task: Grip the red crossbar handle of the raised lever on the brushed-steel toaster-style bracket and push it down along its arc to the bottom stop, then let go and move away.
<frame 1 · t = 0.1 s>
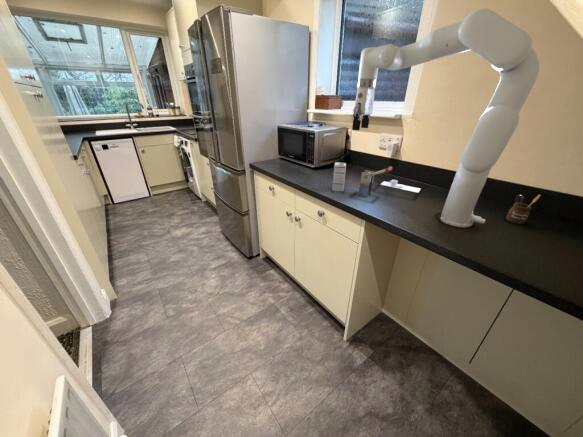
hand: (360, 128, 104), 31 cm above the counter, tool pointing down, fingers open, 9 cm apart
bracket: (364, 197, 115), on the counter
lever: (377, 172, 106), point 13 cm above the counter, hinge at 28.0°
syrup box: (337, 191, 122), on the counter
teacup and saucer: (397, 190, 124), on the counter
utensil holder: (514, 221, 95), on the counter
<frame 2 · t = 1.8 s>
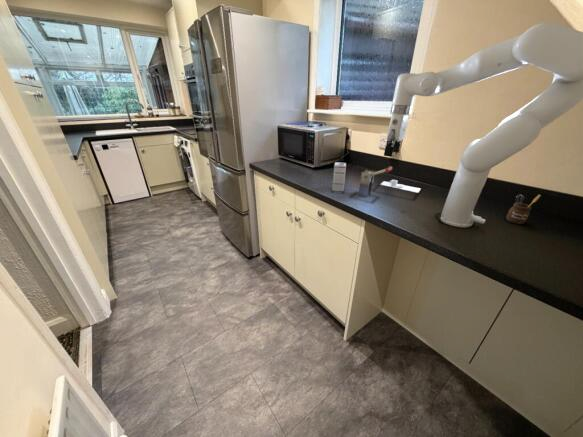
hand: (391, 154, 100), 22 cm above the counter, tool pointing down, fingers open, 9 cm apart
nothing on the counter moved.
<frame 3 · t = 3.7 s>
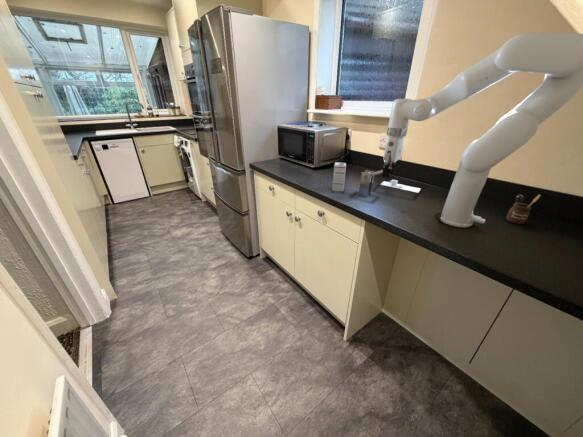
hand: (387, 175, 104), 13 cm above the counter, tool pointing down, fingers closed on lever, 5 cm apart
lever: (377, 172, 106), point 13 cm above the counter, hinge at 28.0°, touching gripper
everything else where it was.
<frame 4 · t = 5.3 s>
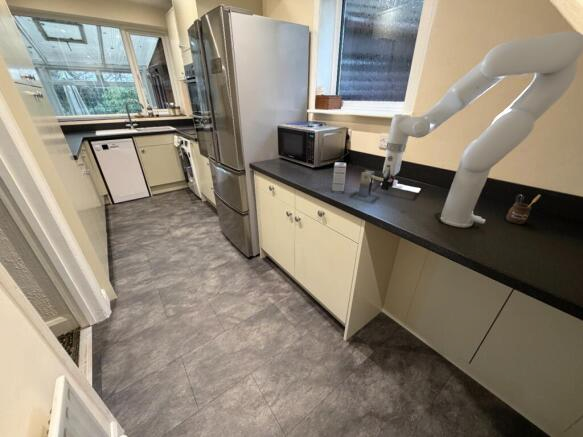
hand: (386, 187, 106), 7 cm above the counter, tool pointing down, fingers closed on lever, 5 cm apart
lever: (377, 178, 107), point 11 cm above the counter, hinge at -3.5°, touching gripper
everything else where it was.
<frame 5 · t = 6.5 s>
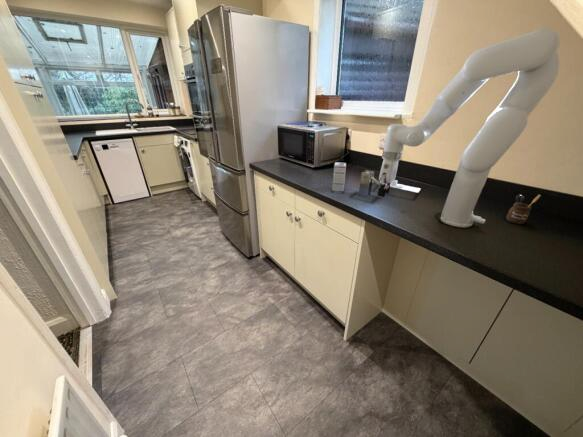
hand: (383, 194, 108), 4 cm above the counter, tool pointing down, fingers closed on lever, 5 cm apart
lever: (376, 181, 108), point 9 cm above the counter, hinge at -23.4°, touching gripper
everything else where it was.
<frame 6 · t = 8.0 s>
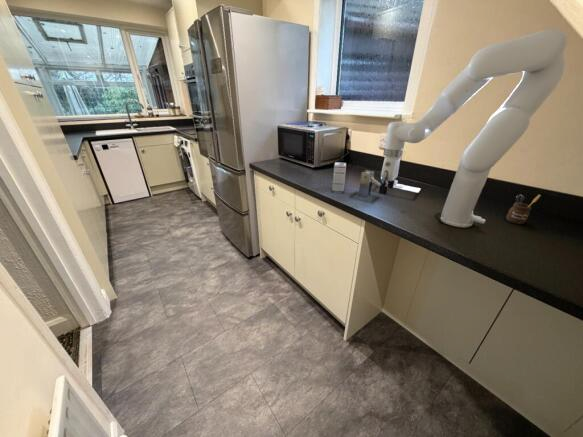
hand: (385, 190, 107), 6 cm above the counter, tool pointing down, fingers open, 9 cm apart
lever: (375, 181, 108), point 9 cm above the counter, hinge at -26.6°
everything else where it was.
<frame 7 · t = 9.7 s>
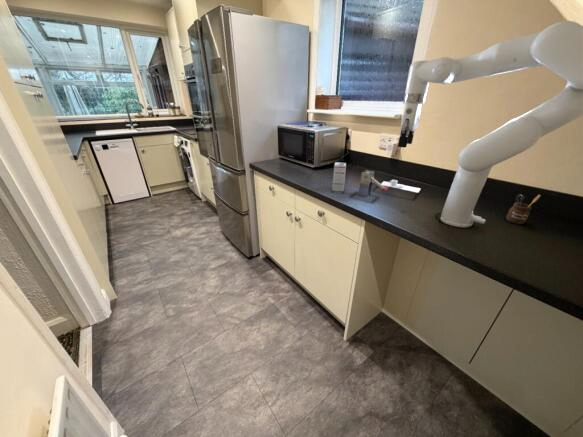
hand: (404, 145, 97), 26 cm above the counter, tool pointing down, fingers open, 9 cm apart
nothing on the counter moved.
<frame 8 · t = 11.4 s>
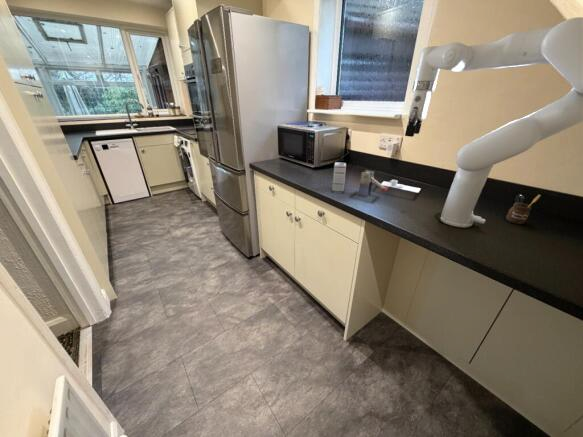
hand: (412, 134, 96), 30 cm above the counter, tool pointing down, fingers open, 9 cm apart
nothing on the counter moved.
at the end: lever at -27° (first picture: +28°); lever reached +28° during the clip, -27° at the end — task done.
